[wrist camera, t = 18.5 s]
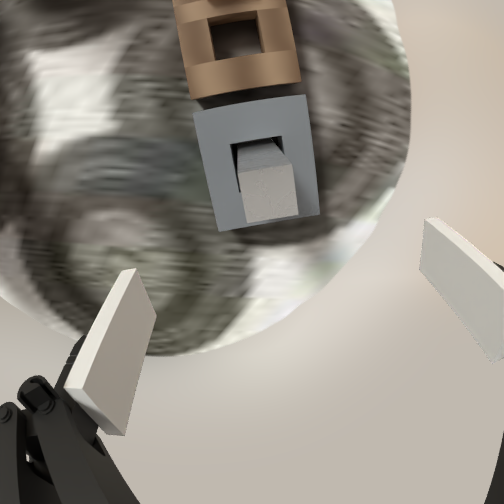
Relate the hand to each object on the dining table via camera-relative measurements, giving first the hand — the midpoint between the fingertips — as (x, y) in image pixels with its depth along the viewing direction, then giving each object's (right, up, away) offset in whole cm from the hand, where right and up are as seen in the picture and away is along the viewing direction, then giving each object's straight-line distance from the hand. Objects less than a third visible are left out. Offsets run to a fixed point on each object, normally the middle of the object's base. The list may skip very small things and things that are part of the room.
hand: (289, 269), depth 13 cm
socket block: (-4, +29, +15) cm, 32 cm away
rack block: (-1, +13, +24) cm, 27 cm away
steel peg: (-1, +13, +24) cm, 27 cm away
